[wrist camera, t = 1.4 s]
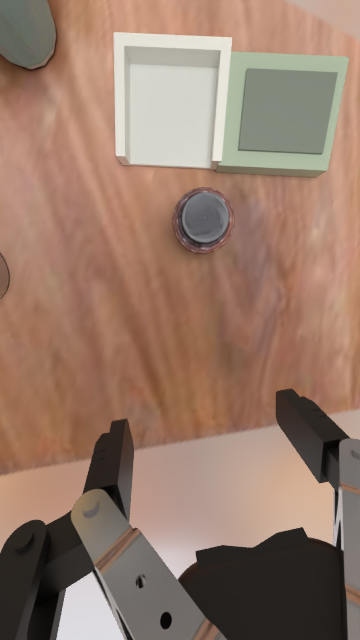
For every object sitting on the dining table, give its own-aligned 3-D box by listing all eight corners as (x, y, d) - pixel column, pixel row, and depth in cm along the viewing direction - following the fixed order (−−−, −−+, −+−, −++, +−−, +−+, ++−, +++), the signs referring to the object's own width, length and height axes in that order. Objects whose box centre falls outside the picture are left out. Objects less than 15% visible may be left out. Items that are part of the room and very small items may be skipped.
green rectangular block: (215, 172, 30) (218, 163, 27) (224, 69, 27) (228, 48, 24) (315, 177, 29) (329, 169, 27) (334, 74, 27) (351, 53, 24)
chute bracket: (122, 165, 30) (115, 155, 27) (121, 55, 27) (113, 32, 24) (218, 169, 29) (221, 161, 27) (227, 60, 27) (232, 37, 24)
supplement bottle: (205, 192, 30) (217, 160, 19) (231, 234, 31) (256, 226, 21) (166, 223, 31) (156, 208, 20) (193, 262, 32) (197, 268, 22)
